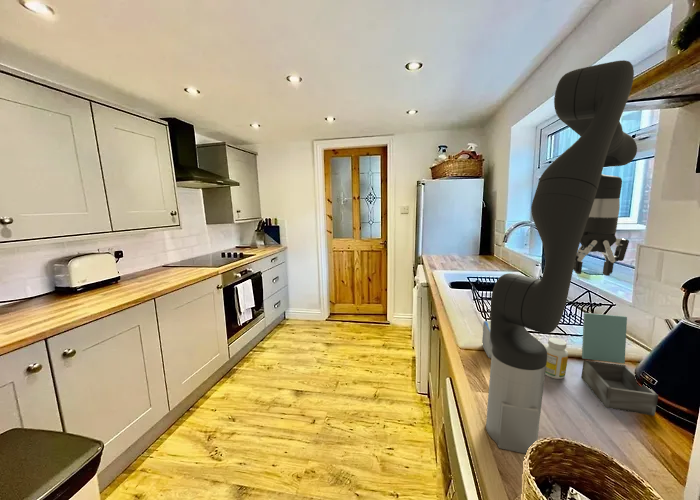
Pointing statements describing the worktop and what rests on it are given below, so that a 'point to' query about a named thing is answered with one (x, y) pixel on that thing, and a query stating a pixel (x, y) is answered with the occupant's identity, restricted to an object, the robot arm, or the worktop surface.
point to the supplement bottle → (556, 358)
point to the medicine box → (487, 338)
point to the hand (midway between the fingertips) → (591, 274)
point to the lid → (604, 337)
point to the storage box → (618, 388)
